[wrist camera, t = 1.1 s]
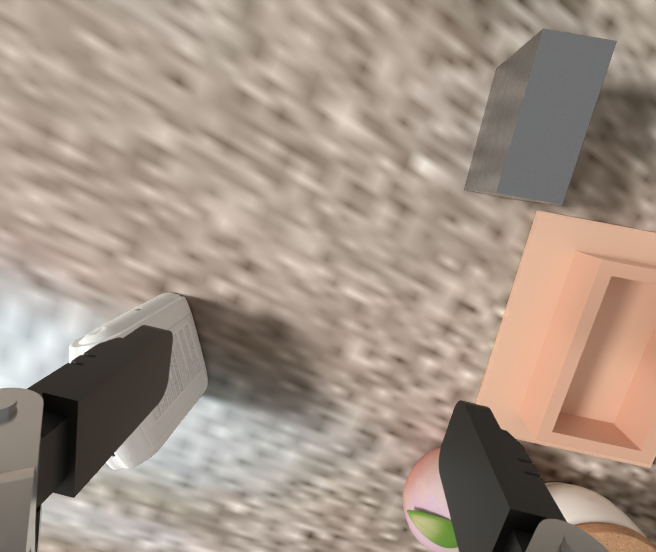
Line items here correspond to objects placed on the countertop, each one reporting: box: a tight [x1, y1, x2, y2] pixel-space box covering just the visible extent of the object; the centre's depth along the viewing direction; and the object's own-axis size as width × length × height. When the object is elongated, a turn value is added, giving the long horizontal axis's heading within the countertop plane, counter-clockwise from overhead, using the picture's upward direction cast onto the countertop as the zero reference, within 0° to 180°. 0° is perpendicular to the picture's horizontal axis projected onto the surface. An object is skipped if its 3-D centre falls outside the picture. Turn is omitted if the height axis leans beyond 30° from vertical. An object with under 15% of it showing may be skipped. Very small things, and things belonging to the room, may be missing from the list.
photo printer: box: [69, 293, 208, 470], centre depth 31 cm, size 10×4×12 cm, turn 10°
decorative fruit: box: [403, 447, 459, 552], centre depth 32 cm, size 9×8×10 cm
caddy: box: [476, 210, 656, 468], centre depth 31 cm, size 16×20×4 cm
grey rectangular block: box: [464, 29, 617, 205], centre depth 26 cm, size 9×4×8 cm, turn 170°
